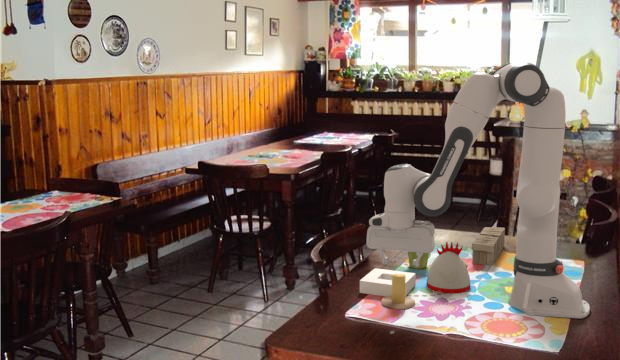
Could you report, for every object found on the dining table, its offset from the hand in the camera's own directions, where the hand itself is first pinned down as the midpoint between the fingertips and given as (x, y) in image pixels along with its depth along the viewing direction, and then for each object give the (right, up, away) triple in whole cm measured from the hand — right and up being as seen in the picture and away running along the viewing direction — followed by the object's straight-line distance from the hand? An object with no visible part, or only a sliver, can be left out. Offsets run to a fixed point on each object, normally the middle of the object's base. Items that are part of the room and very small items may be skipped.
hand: (400, 264), depth 194 cm
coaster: (0, -12, +2) cm, 12 cm away
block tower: (+40, -3, +52) cm, 66 cm away
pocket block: (-2, -10, +15) cm, 18 cm away
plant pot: (+11, -6, +38) cm, 40 cm away
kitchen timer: (+18, -9, +17) cm, 26 cm away
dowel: (0, -11, +2) cm, 11 cm away
